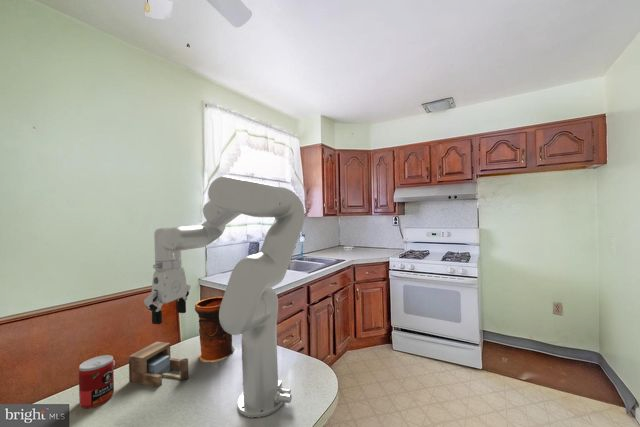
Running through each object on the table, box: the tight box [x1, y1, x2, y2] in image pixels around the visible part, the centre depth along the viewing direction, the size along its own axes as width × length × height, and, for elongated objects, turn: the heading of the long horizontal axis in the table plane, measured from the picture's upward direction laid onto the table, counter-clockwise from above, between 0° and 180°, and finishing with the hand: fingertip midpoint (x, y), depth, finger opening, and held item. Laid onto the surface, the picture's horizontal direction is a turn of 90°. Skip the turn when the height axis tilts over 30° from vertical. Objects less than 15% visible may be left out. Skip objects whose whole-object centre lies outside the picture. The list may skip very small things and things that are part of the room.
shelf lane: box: [128, 341, 183, 388], centre depth 88 cm, size 12×10×8 cm
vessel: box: [194, 296, 236, 363], centre depth 102 cm, size 14×14×20 cm
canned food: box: [78, 354, 115, 409], centre depth 77 cm, size 8×8×11 cm
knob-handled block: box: [147, 354, 190, 382], centre depth 87 cm, size 16×6×6 cm, turn 74°
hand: (169, 317), depth 86 cm, fingers open, 9 cm apart
